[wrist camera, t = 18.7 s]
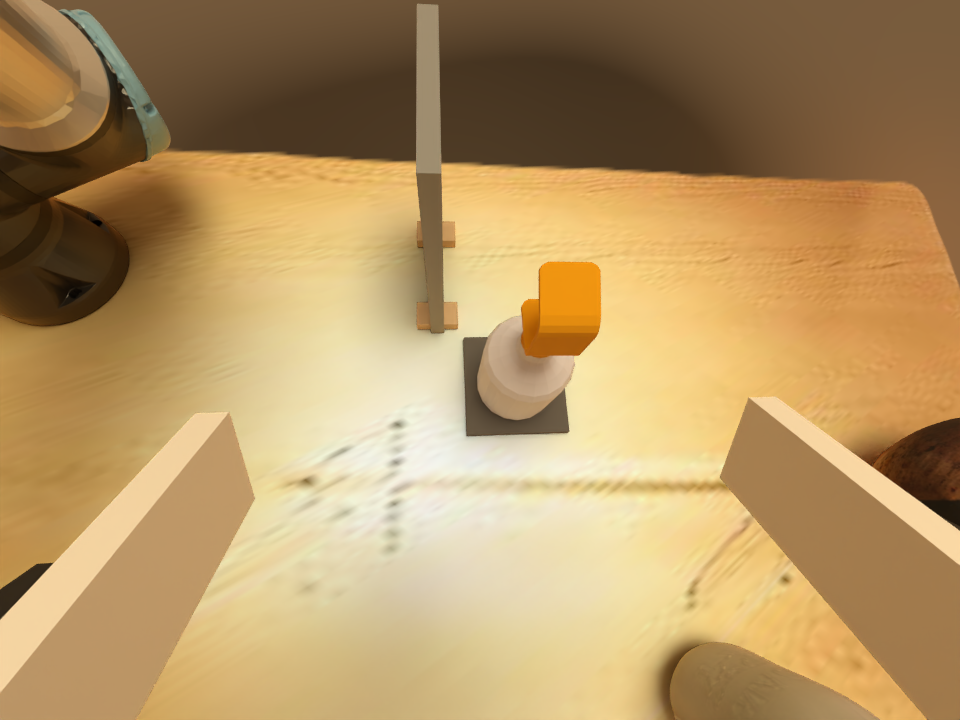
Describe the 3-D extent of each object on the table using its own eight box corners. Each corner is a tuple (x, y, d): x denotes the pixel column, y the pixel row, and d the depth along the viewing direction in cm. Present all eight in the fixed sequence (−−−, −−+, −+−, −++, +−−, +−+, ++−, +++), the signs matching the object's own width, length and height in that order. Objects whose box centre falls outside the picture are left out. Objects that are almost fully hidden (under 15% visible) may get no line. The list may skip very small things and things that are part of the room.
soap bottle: (547, 347, 52) (629, 224, 29) (554, 420, 49) (650, 349, 26) (476, 348, 51) (500, 221, 28) (478, 421, 48) (507, 349, 25)
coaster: (466, 435, 48) (467, 434, 48) (463, 339, 52) (463, 337, 51) (567, 432, 49) (569, 431, 49) (557, 338, 53) (558, 336, 52)
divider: (417, 333, 52) (389, 172, 26) (418, 225, 57) (394, 2, 31) (457, 332, 52) (467, 174, 27) (454, 225, 57) (460, 6, 32)
